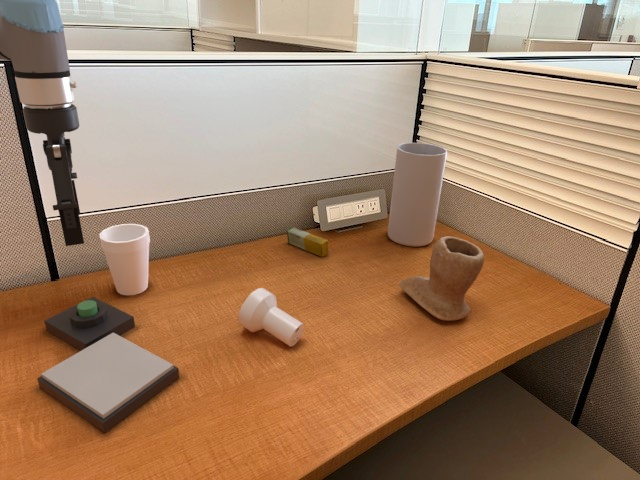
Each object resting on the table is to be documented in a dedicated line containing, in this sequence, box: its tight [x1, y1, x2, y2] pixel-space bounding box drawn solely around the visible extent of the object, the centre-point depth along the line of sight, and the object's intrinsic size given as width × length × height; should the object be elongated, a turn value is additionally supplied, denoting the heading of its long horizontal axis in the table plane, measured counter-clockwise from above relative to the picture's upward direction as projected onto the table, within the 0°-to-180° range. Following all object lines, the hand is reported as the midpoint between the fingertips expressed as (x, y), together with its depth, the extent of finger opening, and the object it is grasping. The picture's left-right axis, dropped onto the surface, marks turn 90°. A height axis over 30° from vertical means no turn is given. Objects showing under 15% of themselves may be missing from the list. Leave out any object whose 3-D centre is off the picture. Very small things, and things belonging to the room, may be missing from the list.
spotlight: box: [237, 287, 306, 347], centre depth 89 cm, size 8×11×8 cm
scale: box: [36, 333, 180, 434], centre depth 76 cm, size 16×14×3 cm
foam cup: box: [99, 223, 151, 296], centre depth 100 cm, size 10×9×13 cm
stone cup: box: [398, 235, 485, 322], centre depth 99 cm, size 15×12×15 cm
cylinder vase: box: [387, 142, 448, 248], centre depth 127 cm, size 12×12×25 cm
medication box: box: [286, 226, 329, 258], centre depth 122 cm, size 12×3×4 cm, turn 50°
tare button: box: [76, 299, 98, 317], centre depth 87 cm, size 3×3×2 cm
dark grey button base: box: [44, 296, 136, 352], centre depth 88 cm, size 12×10×4 cm
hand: (73, 228), depth 84 cm, fingers open, 13 cm apart
